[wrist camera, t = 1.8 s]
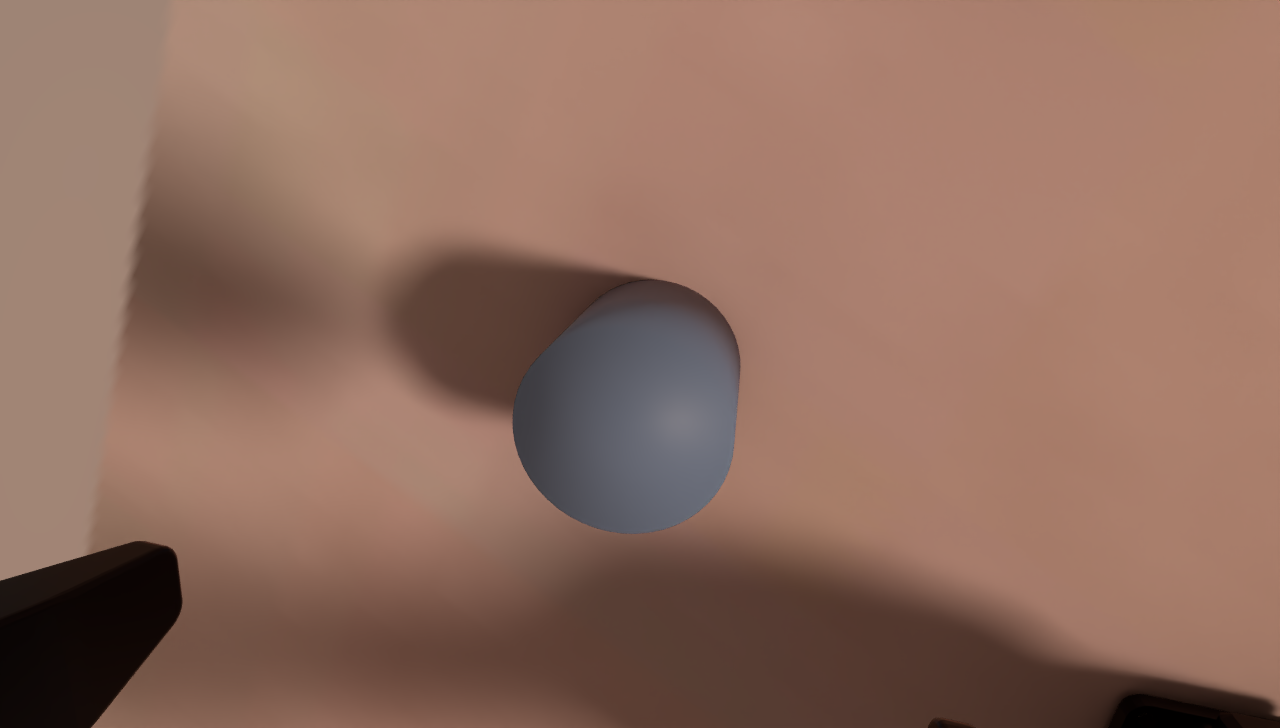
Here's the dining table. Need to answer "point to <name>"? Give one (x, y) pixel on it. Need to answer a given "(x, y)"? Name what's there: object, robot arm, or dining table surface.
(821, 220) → the dining table surface
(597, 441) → the grey rounded cylinder
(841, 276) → the dining table surface
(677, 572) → the dining table surface
